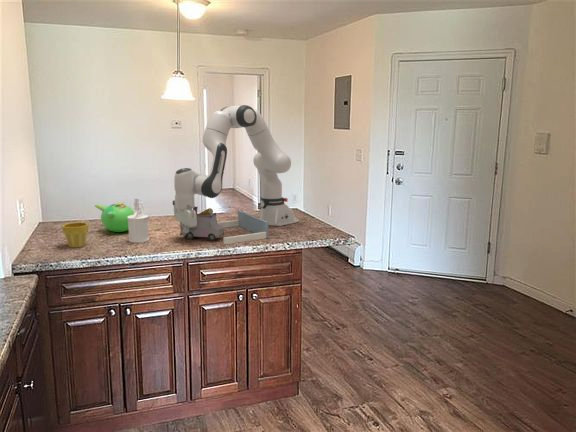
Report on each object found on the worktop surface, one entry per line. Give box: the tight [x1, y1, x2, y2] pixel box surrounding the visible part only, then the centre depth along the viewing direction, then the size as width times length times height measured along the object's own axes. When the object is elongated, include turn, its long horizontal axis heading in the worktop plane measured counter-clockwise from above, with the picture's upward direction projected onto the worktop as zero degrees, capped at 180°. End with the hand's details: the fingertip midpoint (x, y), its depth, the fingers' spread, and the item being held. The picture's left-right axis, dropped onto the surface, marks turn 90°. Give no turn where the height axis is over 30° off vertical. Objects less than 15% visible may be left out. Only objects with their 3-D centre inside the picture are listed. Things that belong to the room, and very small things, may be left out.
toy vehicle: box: [179, 206, 225, 242], centre depth 227 cm, size 9×20×15 cm, turn 77°
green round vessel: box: [94, 201, 135, 233], centre depth 237 cm, size 18×17×15 cm
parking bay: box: [217, 210, 269, 246], centre depth 236 cm, size 23×30×8 cm
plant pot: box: [62, 221, 89, 249], centre depth 212 cm, size 10×10×10 cm
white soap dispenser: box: [127, 197, 150, 244], centre depth 221 cm, size 10×9×20 cm
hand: (185, 232), depth 223 cm, fingers closed
